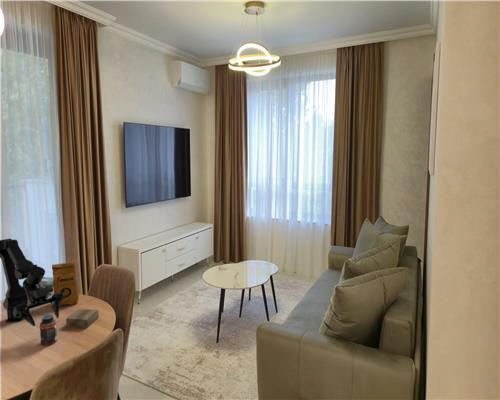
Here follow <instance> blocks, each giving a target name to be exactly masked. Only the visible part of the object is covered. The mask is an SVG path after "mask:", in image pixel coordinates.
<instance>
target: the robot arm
mask: <svg viewBox="0 0 500 400" xmlns="http://www.w3.org/2000/svg"><path fill="white" fill-rule="evenodd" d="M0 259H1V264H2V268H3V272H4V276H5V280H6V285H7V290H6V292H5V295H4V296H5V299H4V300H3V303H2V305H3V309H4V310H6V313H7V314H6V315H7V316H6V317H7V319H5V322H7V323H8V322H10V323H13V322H21V321H22V320H25V321H26V322H28V323H29V324H30V325H31V326H32V327H35V326H36V321H35V320H34V317H33V316H32V314H31V310H32V309H35V308H39V307H41V306H45V305H48V304H51V310H52V311H53V313H54V315H55V317H56V318H57V319H59V317H60V309H59V308H60V305H59V304H60V303H61V302H62V300H63V299H64V297H65V296H64V294H63V293H61V292H60V293H57V294H53V295H52V297H51V298H49V299H46V298H47V297H48V295H50V292H53V287H52V285H47V286H46V288H42V287H41V286H40V284H39V283H40V282H41V280H42V278H43V277H45V274H46V270H45V268H43V267H41V266H38V264H34V262H33V261H32V260H28V259H27V258H26V256H25V254H24V252H23V251H22V249H21V247H20V246H19V241H18V240H17V239H12V238H4V239H0ZM20 280H23V282H22V285H21V283H20ZM28 303H30V304H28Z"/></svg>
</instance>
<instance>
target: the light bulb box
mask: <svg viewBox="0 0 500 400" xmlns="http://www.w3.org/2000/svg"><path fill="white" fill-rule="evenodd" d="M39 284H40V286H41V287H42V288H46V286H47V285H52V287H53V276H43V278H42V280H41V282H40V283H39ZM53 294H54V288H53V292H50V295H48V297H47V298H46V299H49V298H51V297H52V295H53Z"/></svg>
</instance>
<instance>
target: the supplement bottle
mask: <svg viewBox="0 0 500 400" xmlns="http://www.w3.org/2000/svg"><path fill="white" fill-rule="evenodd" d="M57 332H58V331H57V321H56V319H55V318H54V315H52V314H47V315H44V316H42V317H41V322H40V323H39V335H40V336H39V337H40V345H41V346H51V345H54V344H55V343H56V342H57V341H58V333H57Z"/></svg>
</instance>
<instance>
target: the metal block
mask: <svg viewBox="0 0 500 400" xmlns="http://www.w3.org/2000/svg"><path fill="white" fill-rule="evenodd" d="M99 315H100V314H99V309H85V308H84V309H83V308H79V309H77V310H76V311H74V312H73V313H72V314H70V315H69V316H67V317H66V320H65V323H66V328H78V329H79V328H83V329H88V328H89V327H91V325H93V324H94V323H95V322H96V321H97V320H98V319H99V317H100V316H99Z"/></svg>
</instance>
